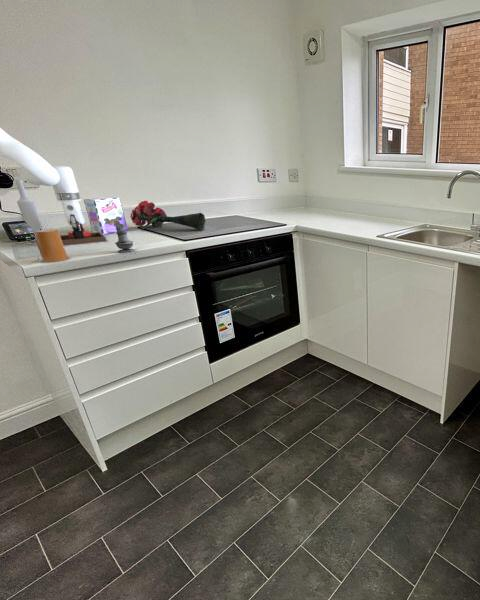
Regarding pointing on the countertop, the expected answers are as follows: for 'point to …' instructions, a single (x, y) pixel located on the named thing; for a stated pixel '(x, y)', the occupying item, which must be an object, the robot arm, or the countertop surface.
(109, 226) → the candy box
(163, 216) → the carnation
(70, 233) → the lid
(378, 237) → the countertop surface
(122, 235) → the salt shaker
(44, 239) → the jar
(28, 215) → the bottle
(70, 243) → the tray
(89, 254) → the countertop surface
